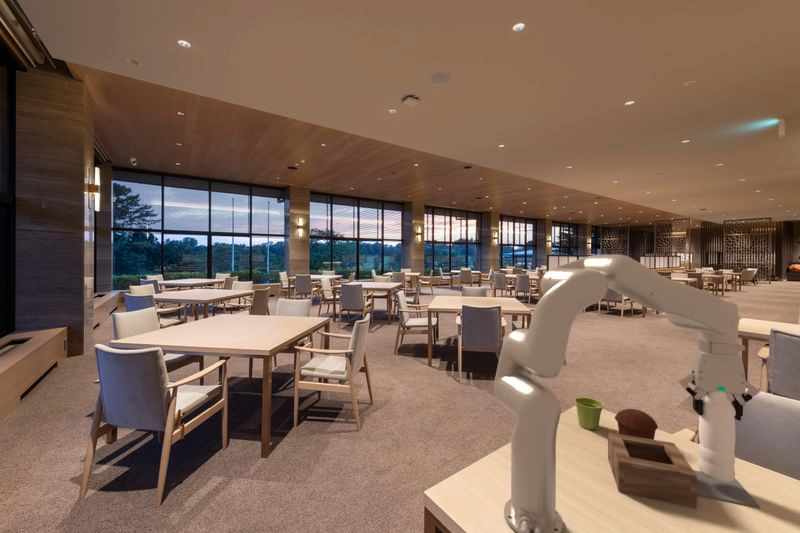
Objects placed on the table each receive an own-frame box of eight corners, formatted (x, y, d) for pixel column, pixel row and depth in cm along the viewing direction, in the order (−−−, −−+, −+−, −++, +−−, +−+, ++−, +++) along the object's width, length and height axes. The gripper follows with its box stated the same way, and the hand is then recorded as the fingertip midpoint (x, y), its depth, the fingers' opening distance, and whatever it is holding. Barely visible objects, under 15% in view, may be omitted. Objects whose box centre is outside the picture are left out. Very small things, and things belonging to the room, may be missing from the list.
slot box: (696, 508, 82) (697, 475, 82) (618, 491, 88) (618, 460, 88) (673, 471, 97) (673, 443, 97) (608, 458, 103) (608, 432, 103)
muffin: (653, 437, 115) (653, 408, 115) (662, 454, 105) (662, 421, 105) (612, 430, 120) (612, 402, 120) (616, 445, 110) (617, 414, 110)
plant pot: (580, 417, 130) (580, 395, 130) (607, 426, 123) (608, 402, 123) (569, 425, 124) (569, 401, 124) (597, 435, 117) (597, 410, 117)
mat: (760, 508, 82) (760, 506, 82) (697, 495, 87) (697, 493, 87) (734, 479, 93) (734, 477, 93) (679, 468, 98) (679, 467, 98)
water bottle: (719, 467, 93) (720, 375, 93) (742, 484, 86) (744, 385, 86) (691, 466, 94) (692, 375, 94) (712, 482, 87) (713, 384, 87)
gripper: (753, 347, 90) (752, 415, 90) (671, 341, 96) (671, 404, 97) (771, 355, 83) (770, 428, 83) (681, 348, 89) (681, 415, 90)
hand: (717, 415), depth 90 cm, fingers closed on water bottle, 7 cm apart
